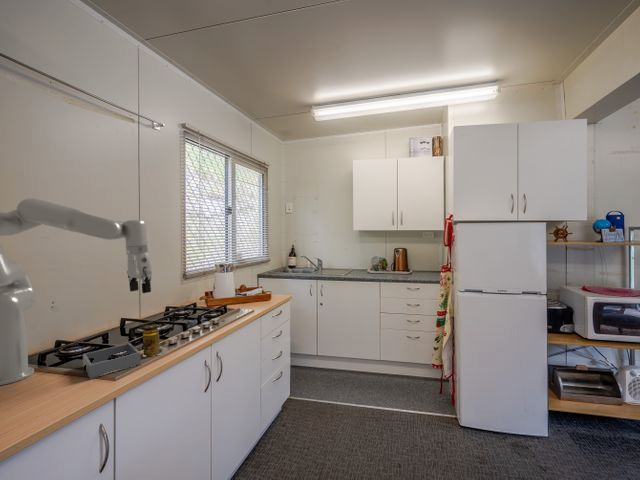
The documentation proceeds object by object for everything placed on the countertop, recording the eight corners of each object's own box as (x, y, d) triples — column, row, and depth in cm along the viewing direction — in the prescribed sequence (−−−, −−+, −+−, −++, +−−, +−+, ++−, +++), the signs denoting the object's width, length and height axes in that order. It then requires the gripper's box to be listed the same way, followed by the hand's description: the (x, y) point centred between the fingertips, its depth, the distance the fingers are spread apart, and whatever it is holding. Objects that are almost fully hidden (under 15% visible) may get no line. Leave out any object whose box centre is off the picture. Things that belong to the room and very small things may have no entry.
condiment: (141, 358, 127) (140, 329, 127) (144, 351, 135) (143, 324, 134) (161, 355, 130) (160, 327, 129) (162, 348, 138) (161, 321, 137)
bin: (90, 379, 109) (89, 365, 109) (83, 366, 120) (82, 354, 120) (140, 365, 121) (140, 352, 120) (130, 354, 131) (129, 342, 131)
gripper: (157, 249, 125) (161, 291, 126) (135, 249, 134) (139, 288, 135) (138, 251, 119) (142, 295, 119) (117, 251, 128) (120, 292, 129)
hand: (140, 291), depth 127 cm, fingers open, 9 cm apart
